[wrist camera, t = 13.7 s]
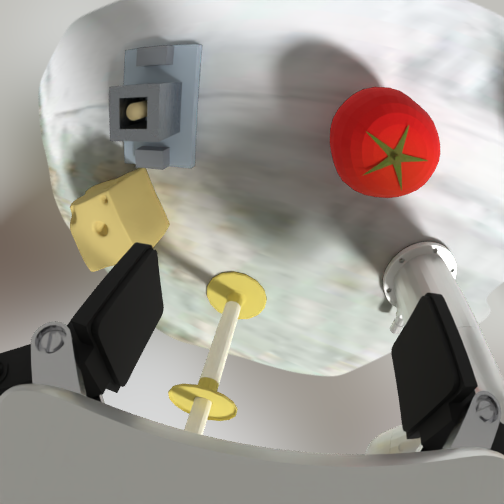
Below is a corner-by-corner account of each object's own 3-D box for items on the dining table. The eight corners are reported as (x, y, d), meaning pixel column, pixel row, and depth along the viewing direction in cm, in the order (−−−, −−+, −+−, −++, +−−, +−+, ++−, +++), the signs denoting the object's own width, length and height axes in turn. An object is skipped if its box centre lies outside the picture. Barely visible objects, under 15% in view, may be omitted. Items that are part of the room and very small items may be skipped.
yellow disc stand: (215, 262, 45) (108, 515, 14) (276, 286, 46) (223, 549, 14) (201, 305, 51) (117, 514, 19) (254, 325, 51) (201, 541, 20)
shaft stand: (195, 165, 37) (174, 182, 31) (130, 160, 38) (102, 176, 32) (202, 45, 28) (179, 38, 23) (131, 50, 29) (100, 49, 23)
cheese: (96, 183, 41) (56, 211, 33) (148, 161, 38) (108, 187, 30) (122, 239, 46) (90, 274, 38) (175, 226, 43) (145, 264, 35)
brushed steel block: (182, 82, 30) (159, 83, 25) (180, 132, 33) (158, 142, 28) (136, 83, 30) (109, 87, 25) (135, 130, 34) (110, 140, 29)
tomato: (393, 75, 27) (437, 74, 16) (421, 157, 31) (468, 194, 20) (308, 105, 31) (311, 115, 20) (343, 184, 35) (359, 233, 25)
